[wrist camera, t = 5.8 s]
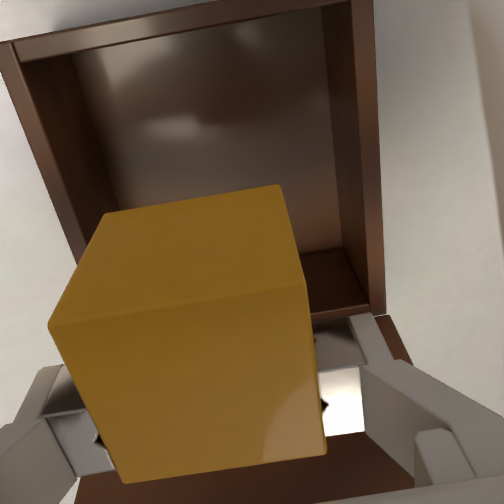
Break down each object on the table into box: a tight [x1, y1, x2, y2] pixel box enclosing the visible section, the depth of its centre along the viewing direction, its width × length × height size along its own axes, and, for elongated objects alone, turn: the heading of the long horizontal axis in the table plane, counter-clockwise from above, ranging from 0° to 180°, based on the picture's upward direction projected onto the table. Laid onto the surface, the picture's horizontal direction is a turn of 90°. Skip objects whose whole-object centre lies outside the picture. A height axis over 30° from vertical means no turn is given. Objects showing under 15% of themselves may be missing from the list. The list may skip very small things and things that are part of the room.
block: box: [48, 184, 327, 484], centre depth 11 cm, size 4×4×4 cm
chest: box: [0, 0, 387, 323], centre depth 23 cm, size 15×14×7 cm
